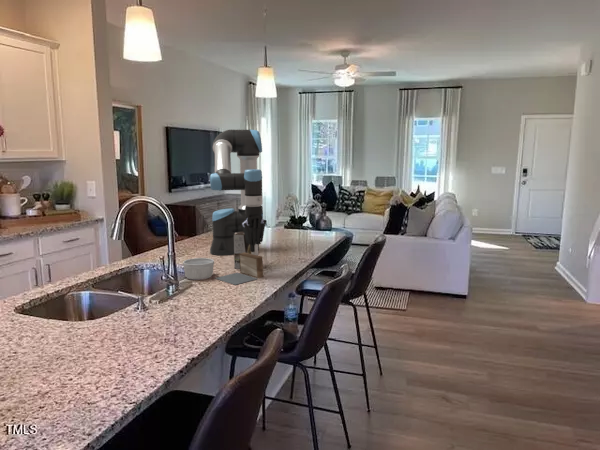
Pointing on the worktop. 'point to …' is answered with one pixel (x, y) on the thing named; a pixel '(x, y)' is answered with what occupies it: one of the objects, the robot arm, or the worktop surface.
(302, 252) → the worktop surface
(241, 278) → the mat
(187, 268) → the ramekin
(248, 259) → the wooden block
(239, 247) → the coffee box
